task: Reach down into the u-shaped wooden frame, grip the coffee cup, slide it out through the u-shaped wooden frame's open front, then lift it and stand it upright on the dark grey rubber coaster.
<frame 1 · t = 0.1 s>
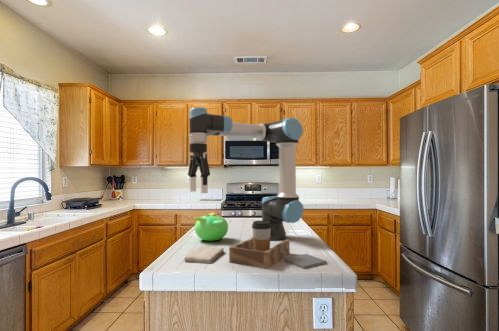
hand: (198, 192, 123), 28 cm above the worktop, tool pointing down, fingers open, 13 cm apart
u-shaped wooden frame: (261, 257, 121), on the worktop
coffee cup: (261, 257, 121), on the worktop
washcloth: (205, 258, 123), on the worktop
toy bird: (211, 240, 153), on the worktop
coaster: (305, 261, 114), on the worktop
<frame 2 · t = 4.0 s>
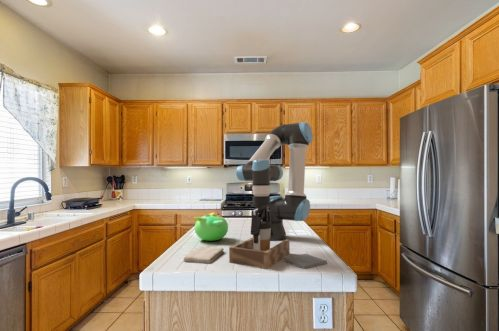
hand: (261, 248, 122), 4 cm above the worktop, tool pointing down, fingers closed on coffee cup, 8 cm apart
coffee cup: (261, 257, 121), on the worktop, touching gripper
everything else where it was.
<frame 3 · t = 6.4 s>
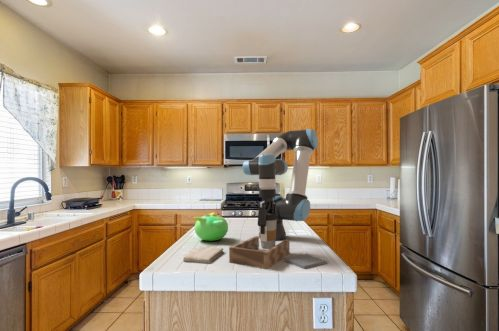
hand: (268, 238, 127), 6 cm above the worktop, tool pointing down, fingers closed on coffee cup, 8 cm apart
coffee cup: (268, 247, 127), point 2 cm above the worktop, touching gripper
everything else where it was.
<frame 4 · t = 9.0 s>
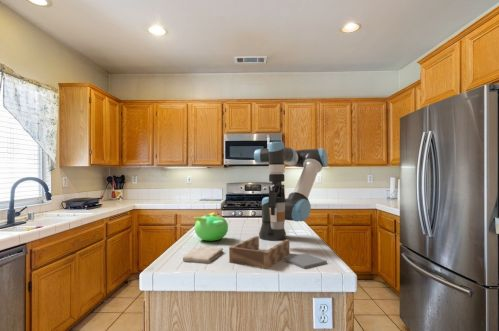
hand: (277, 220, 137), 13 cm above the worktop, tool pointing down, fingers closed on coffee cup, 8 cm apart
coffee cup: (277, 228, 137), point 9 cm above the worktop, touching gripper
everything else where it was.
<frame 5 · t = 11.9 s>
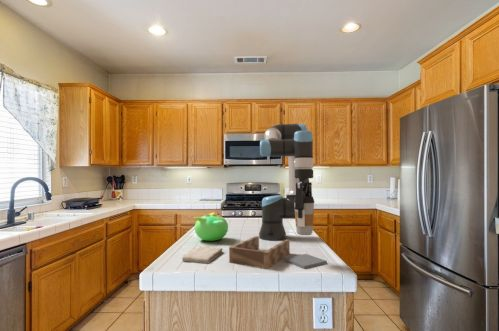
hand: (304, 224, 115), 15 cm above the worktop, tool pointing down, fingers closed on coffee cup, 8 cm apart
coffee cup: (304, 234, 114), point 11 cm above the worktop, touching gripper
everything else where it was.
when the fingers open (5 cm above the worktop, at t = 14.2 s): coffee cup stays where it is, resting on coaster.
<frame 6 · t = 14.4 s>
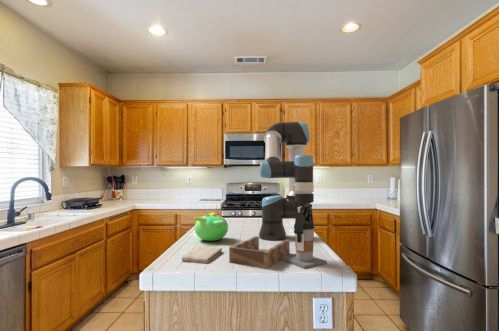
hand: (304, 247, 115), 6 cm above the worktop, tool pointing down, fingers open, 11 cm apart
coffee cup: (304, 259, 115), point 1 cm above the worktop, touching coaster
everything else where it was.
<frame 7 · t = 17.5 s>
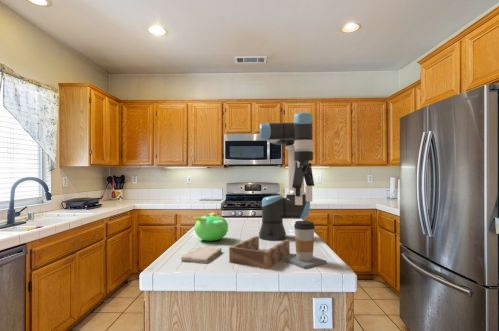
hand: (304, 203, 115), 24 cm above the worktop, tool pointing down, fingers open, 13 cm apart
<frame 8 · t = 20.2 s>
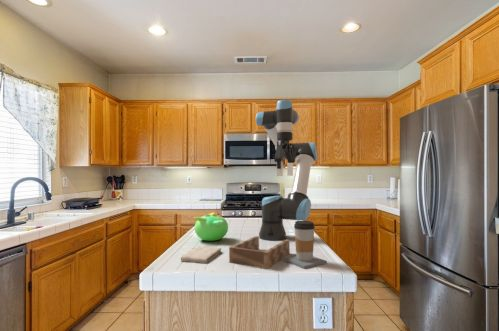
hand: (285, 175, 137), 35 cm above the worktop, tool pointing down, fingers open, 13 cm apart
at the end: coffee cup inside the target area on the coaster (0.1 cm from its centre), point 0.8 cm above the coaster's base; coffee cup tilted 0°; the gripper is holding nothing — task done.
